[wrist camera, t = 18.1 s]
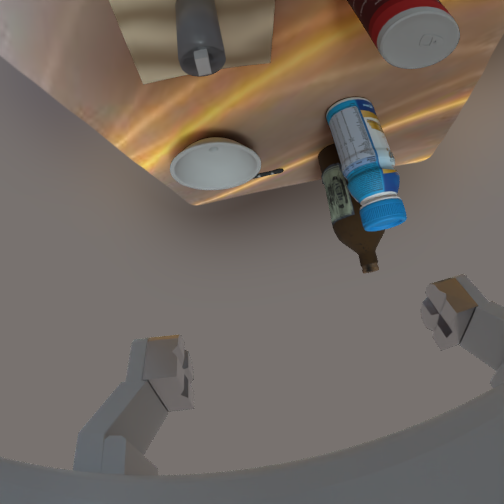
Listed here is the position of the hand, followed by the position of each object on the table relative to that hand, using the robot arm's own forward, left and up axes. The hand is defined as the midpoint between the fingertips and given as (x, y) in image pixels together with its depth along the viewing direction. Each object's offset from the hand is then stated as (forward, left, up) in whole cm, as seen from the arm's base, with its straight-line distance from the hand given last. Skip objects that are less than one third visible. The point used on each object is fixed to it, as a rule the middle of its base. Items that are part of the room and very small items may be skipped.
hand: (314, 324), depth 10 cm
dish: (+29, -25, -30) cm, 48 cm away
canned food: (+13, +9, -30) cm, 34 cm away
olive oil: (+51, -10, -30) cm, 60 cm away
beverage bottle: (+37, -3, -30) cm, 48 cm away
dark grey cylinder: (+5, -7, -28) cm, 29 cm away
